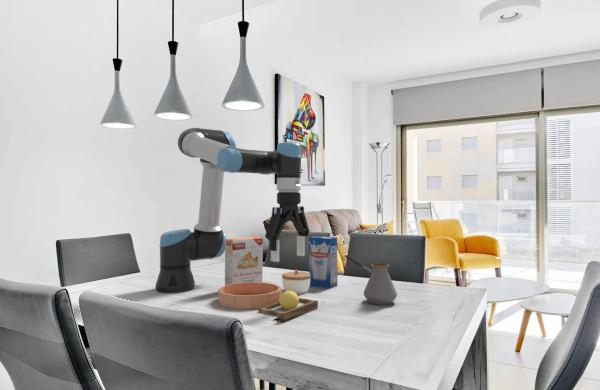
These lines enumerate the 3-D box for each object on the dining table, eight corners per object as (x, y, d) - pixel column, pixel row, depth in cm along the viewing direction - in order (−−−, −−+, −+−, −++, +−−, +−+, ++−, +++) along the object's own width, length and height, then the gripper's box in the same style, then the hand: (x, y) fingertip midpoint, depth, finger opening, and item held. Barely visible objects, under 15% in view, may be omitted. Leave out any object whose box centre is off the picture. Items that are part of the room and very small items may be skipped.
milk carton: (337, 285, 167) (337, 237, 167) (330, 288, 161) (330, 238, 162) (316, 283, 172) (316, 236, 172) (309, 285, 167) (308, 237, 167)
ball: (275, 310, 127) (275, 291, 127) (287, 306, 132) (287, 287, 132) (291, 313, 124) (291, 294, 124) (302, 309, 129) (302, 290, 129)
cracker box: (232, 296, 149) (232, 239, 149) (224, 294, 153) (223, 238, 153) (263, 291, 158) (263, 237, 158) (254, 288, 162) (254, 236, 163)
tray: (258, 316, 124) (258, 308, 124) (293, 303, 138) (293, 296, 138) (284, 322, 118) (284, 313, 118) (317, 308, 133) (317, 300, 133)
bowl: (205, 306, 135) (205, 290, 135) (248, 294, 152) (248, 279, 152) (252, 317, 123) (252, 299, 123) (293, 302, 140) (292, 286, 140)
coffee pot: (403, 301, 141) (403, 258, 141) (386, 308, 133) (385, 262, 133) (352, 292, 156) (352, 253, 156) (334, 297, 147) (334, 256, 147)
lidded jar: (307, 299, 145) (307, 273, 145) (278, 297, 147) (278, 272, 147) (313, 292, 155) (312, 267, 155) (285, 291, 158) (285, 267, 158)
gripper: (273, 191, 116) (272, 265, 116) (319, 191, 136) (319, 254, 137) (253, 191, 120) (253, 262, 120) (301, 191, 141) (301, 252, 141)
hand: (288, 258), depth 129 cm, fingers open, 13 cm apart
